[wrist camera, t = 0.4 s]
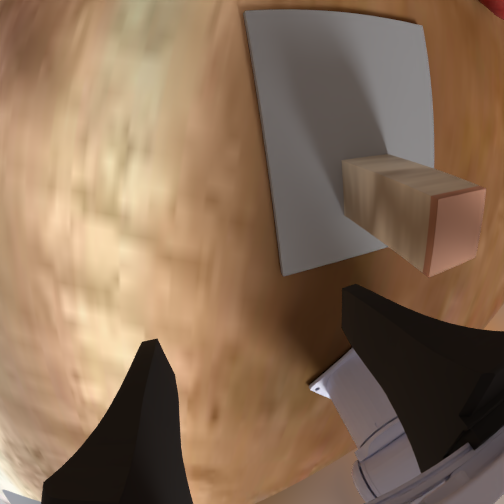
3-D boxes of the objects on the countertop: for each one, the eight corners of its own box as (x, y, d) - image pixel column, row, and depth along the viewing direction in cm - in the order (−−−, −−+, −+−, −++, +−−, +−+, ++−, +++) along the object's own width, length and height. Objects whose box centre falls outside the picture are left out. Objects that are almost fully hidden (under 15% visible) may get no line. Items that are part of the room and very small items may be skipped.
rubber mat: (426, 232, 24) (429, 234, 24) (281, 273, 22) (283, 276, 22) (418, 26, 16) (422, 25, 16) (243, 13, 14) (244, 10, 14)
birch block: (388, 205, 22) (475, 257, 14) (344, 215, 21) (428, 277, 13) (388, 154, 20) (486, 188, 12) (341, 160, 19) (438, 199, 11)
